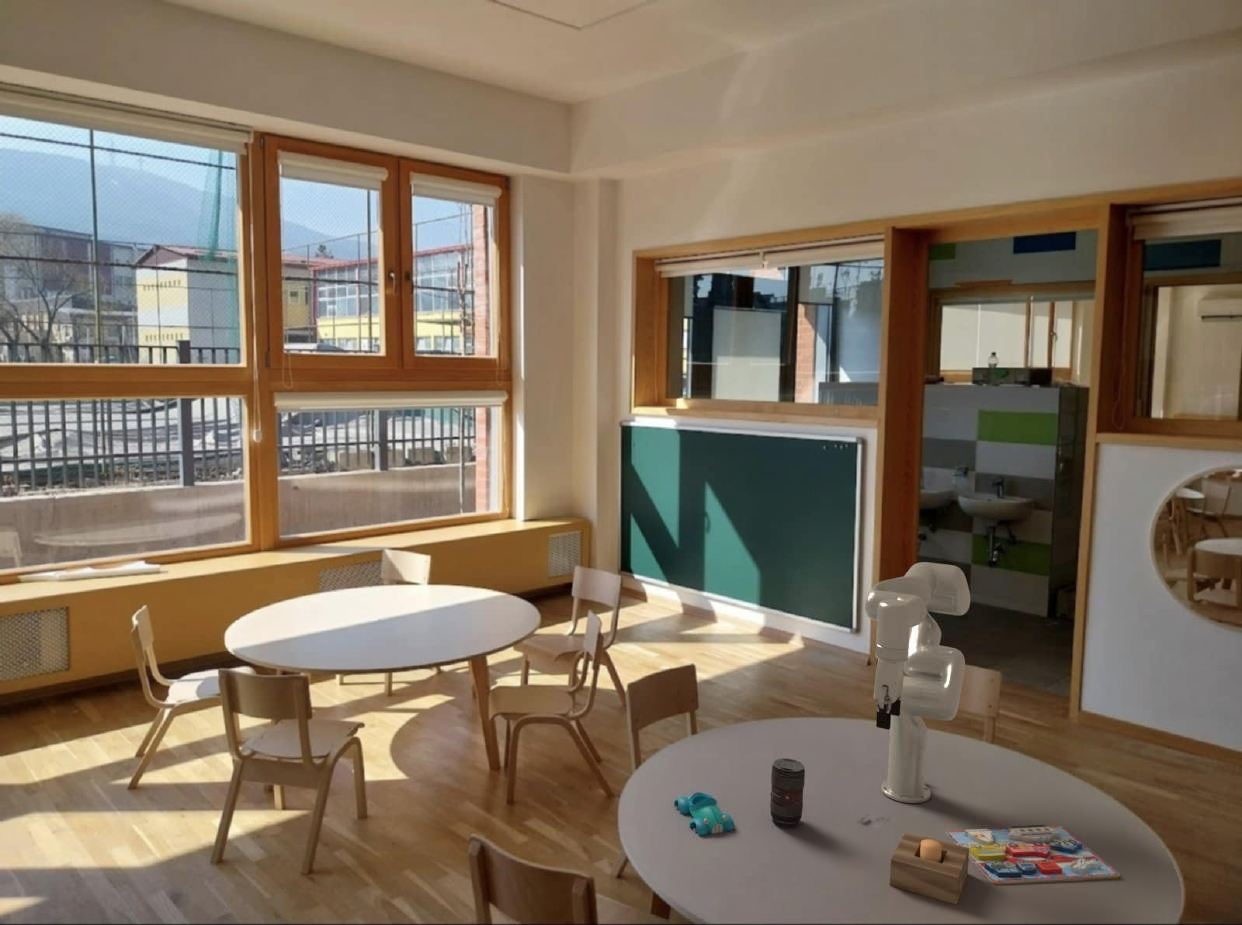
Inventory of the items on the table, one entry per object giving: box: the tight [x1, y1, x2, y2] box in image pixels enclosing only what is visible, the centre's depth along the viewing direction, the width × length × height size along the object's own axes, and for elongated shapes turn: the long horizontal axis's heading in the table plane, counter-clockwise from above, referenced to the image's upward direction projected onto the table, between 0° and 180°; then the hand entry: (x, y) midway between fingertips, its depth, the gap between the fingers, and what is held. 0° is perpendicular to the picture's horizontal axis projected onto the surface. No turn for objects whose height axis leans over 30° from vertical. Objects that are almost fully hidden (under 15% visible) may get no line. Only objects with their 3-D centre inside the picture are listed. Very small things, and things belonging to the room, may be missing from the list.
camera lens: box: [769, 757, 806, 829], centre depth 229 cm, size 8×8×15 cm
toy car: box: [673, 791, 735, 836], centre depth 232 cm, size 11×18×7 cm, turn 19°
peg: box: [920, 839, 942, 863], centre depth 205 cm, size 4×4×8 cm
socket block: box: [889, 831, 970, 905], centre depth 205 cm, size 14×14×6 cm
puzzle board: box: [945, 824, 1121, 885], centre depth 217 cm, size 30×23×3 cm
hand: (888, 721), depth 222 cm, fingers open, 9 cm apart
